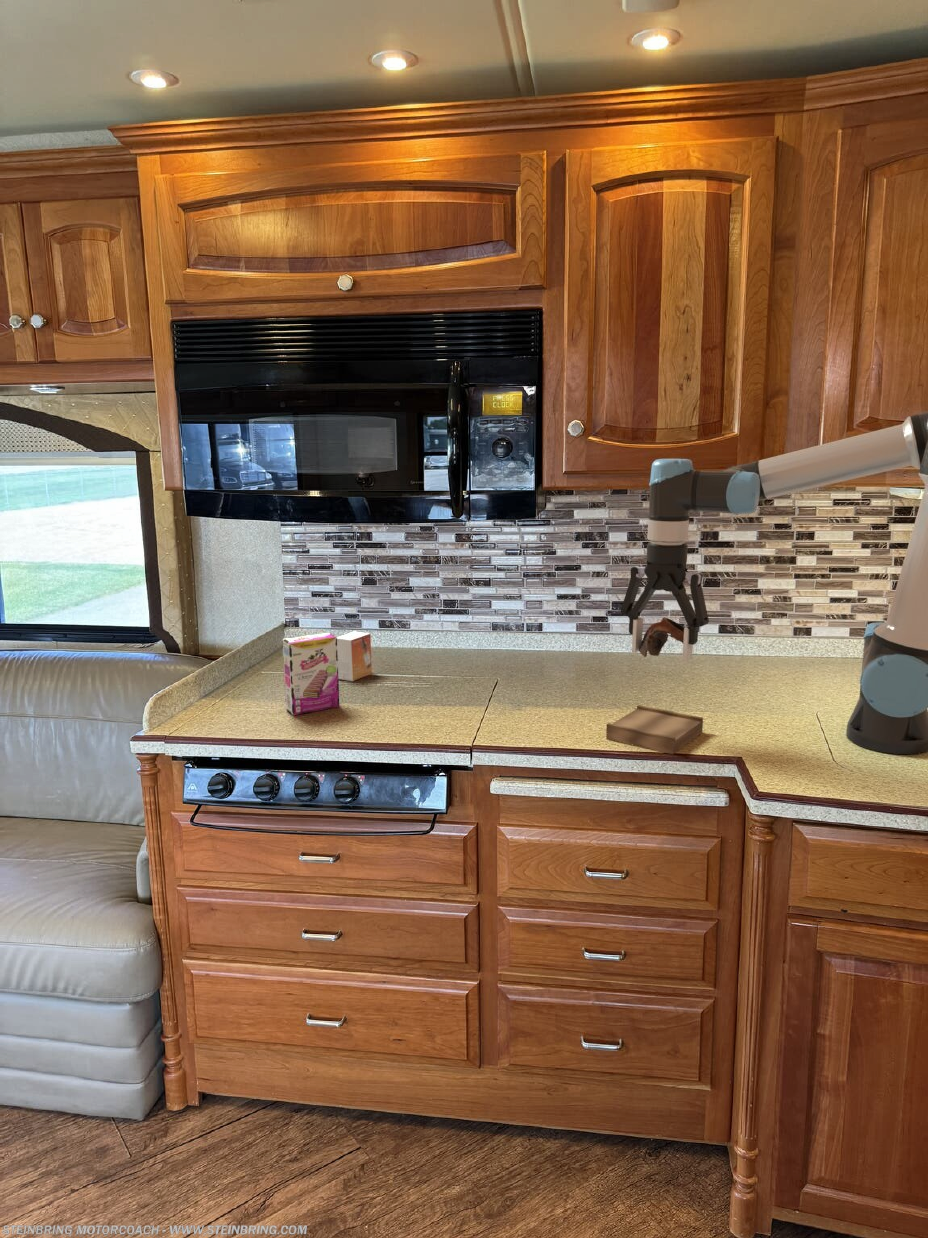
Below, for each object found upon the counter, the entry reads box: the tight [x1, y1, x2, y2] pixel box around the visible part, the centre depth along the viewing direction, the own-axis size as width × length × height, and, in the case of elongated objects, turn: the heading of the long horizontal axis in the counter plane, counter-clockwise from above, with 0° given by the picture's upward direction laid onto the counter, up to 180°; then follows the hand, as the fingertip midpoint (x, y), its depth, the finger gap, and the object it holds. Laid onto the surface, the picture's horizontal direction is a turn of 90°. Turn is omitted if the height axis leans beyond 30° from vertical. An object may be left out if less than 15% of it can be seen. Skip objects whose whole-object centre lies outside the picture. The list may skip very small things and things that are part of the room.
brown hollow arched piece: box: [638, 617, 685, 658], centre depth 169 cm, size 12×10×8 cm
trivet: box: [605, 704, 704, 755], centre depth 173 cm, size 14×14×3 cm
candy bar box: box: [281, 632, 340, 716], centre depth 192 cm, size 11×5×16 cm, turn 121°
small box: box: [336, 630, 373, 682], centre depth 216 cm, size 8×6×10 cm
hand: (661, 655), depth 170 cm, fingers closed on brown hollow arched piece, 10 cm apart
